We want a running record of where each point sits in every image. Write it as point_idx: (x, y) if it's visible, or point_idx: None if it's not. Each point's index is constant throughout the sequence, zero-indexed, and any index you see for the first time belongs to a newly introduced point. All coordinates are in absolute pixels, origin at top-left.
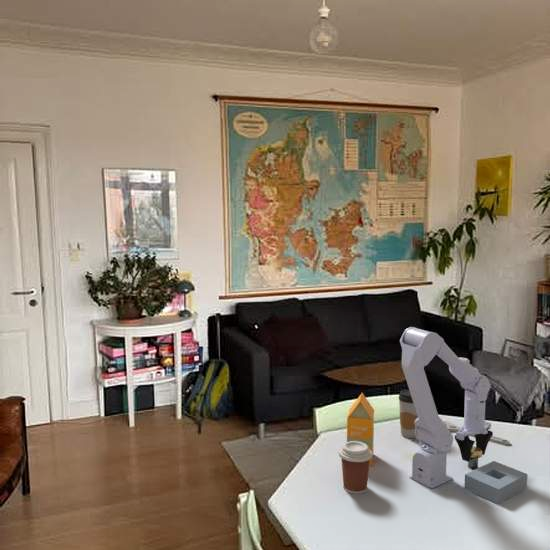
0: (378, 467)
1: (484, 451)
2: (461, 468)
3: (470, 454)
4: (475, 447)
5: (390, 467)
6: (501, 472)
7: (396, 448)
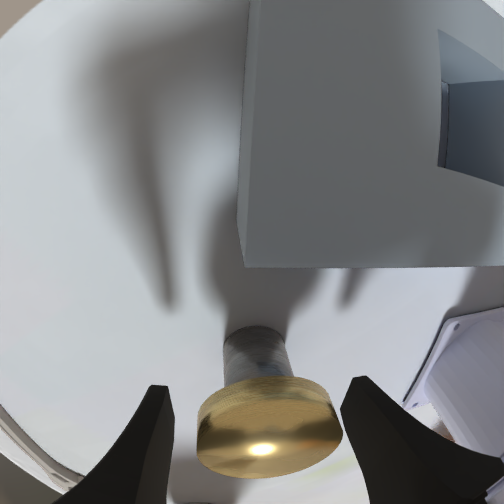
0: (444, 433)
1: (154, 406)
2: (316, 369)
3: (390, 412)
4: (215, 462)
5: (436, 430)
6: (439, 82)
7: (316, 490)
